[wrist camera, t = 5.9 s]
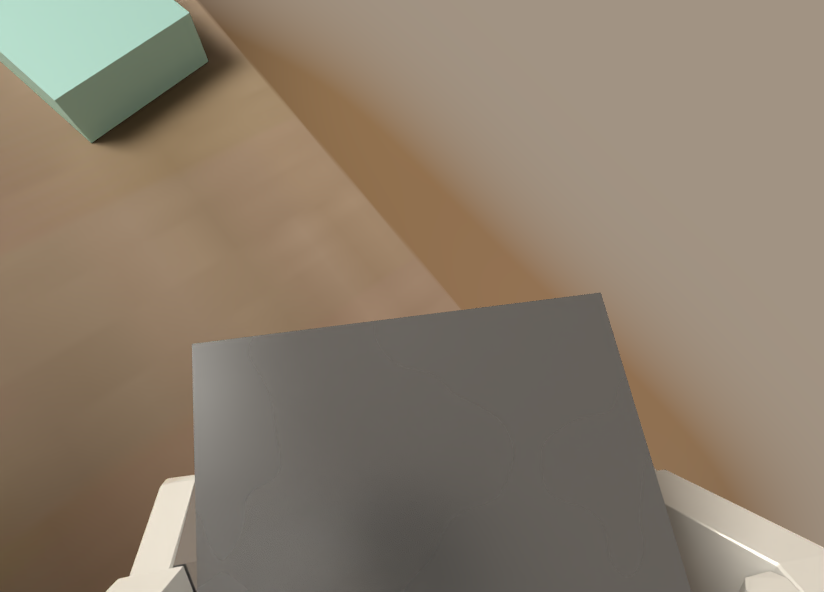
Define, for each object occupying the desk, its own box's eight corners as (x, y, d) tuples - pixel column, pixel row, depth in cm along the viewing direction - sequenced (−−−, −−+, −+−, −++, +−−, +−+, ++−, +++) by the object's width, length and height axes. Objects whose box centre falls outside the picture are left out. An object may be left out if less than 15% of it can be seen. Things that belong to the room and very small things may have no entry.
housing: (312, 586, 13) (206, 954, 3) (298, 420, 14) (191, 343, 5) (469, 552, 13) (747, 774, 4) (441, 397, 15) (600, 292, 5)
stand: (91, 143, 31) (54, 100, 28) (-4, 57, 33) (-52, 5, 29) (208, 61, 34) (189, 12, 31) (117, -14, 36) (88, -69, 32)
